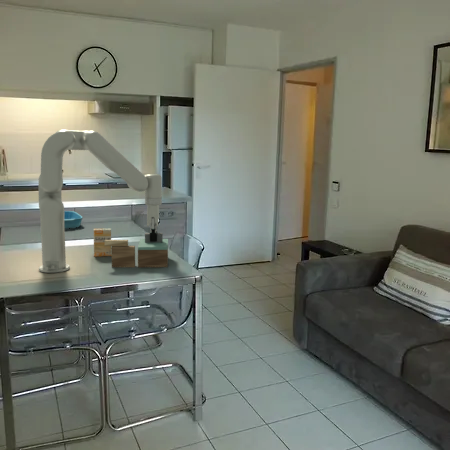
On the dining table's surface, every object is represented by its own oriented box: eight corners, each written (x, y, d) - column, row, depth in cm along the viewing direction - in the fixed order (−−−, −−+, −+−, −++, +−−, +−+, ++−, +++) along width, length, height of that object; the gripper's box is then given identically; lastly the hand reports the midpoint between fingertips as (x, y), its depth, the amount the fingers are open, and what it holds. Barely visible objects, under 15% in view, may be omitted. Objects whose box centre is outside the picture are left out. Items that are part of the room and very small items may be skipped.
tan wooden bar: (127, 246, 215) (127, 240, 214) (104, 246, 214) (104, 240, 213) (128, 245, 217) (128, 239, 217) (105, 245, 216) (105, 239, 216)
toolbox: (167, 267, 218) (167, 247, 216) (111, 267, 215) (111, 247, 213) (167, 257, 235) (167, 238, 234) (116, 257, 233) (115, 238, 231)
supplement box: (94, 257, 233) (93, 230, 231) (93, 254, 238) (93, 228, 236) (111, 256, 236) (111, 229, 233) (111, 253, 240) (110, 227, 238)
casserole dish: (86, 229, 304) (86, 217, 302) (48, 231, 293) (48, 220, 292) (73, 220, 335) (73, 209, 334) (39, 222, 325) (38, 211, 323)
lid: (167, 249, 216) (167, 238, 215) (138, 249, 215) (137, 238, 214) (168, 241, 234) (168, 230, 233) (140, 241, 233) (140, 230, 232)
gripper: (146, 199, 230) (146, 237, 234) (144, 203, 214) (144, 244, 218) (162, 199, 231) (162, 237, 234) (161, 203, 215) (161, 244, 218)
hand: (153, 240), depth 226 cm, fingers closed on lid, 3 cm apart
